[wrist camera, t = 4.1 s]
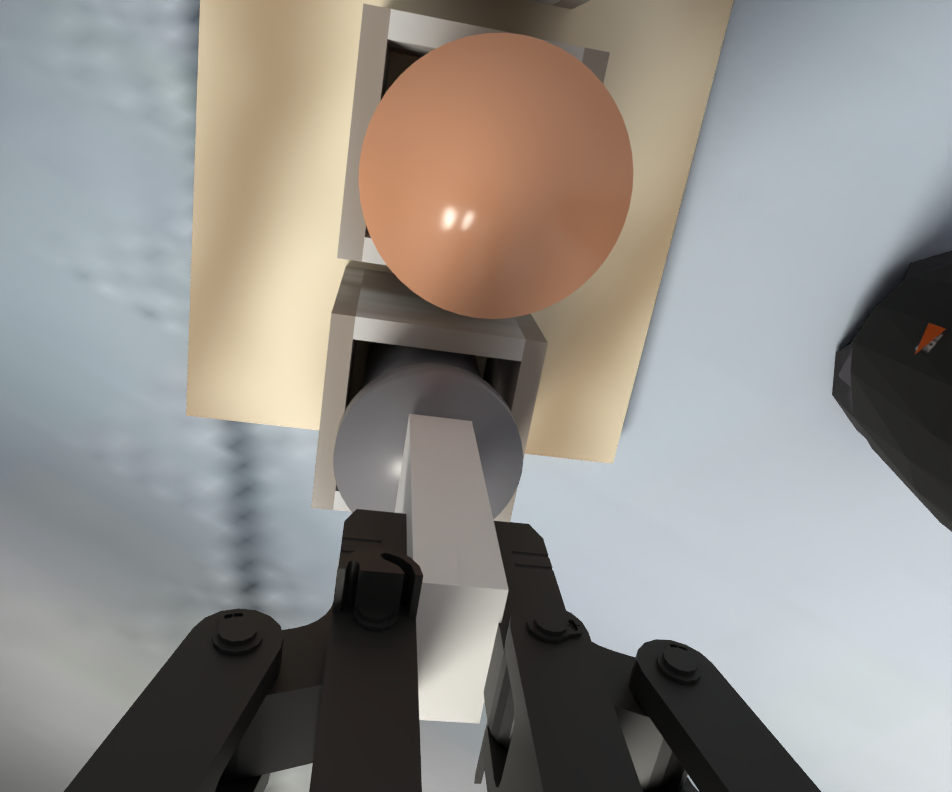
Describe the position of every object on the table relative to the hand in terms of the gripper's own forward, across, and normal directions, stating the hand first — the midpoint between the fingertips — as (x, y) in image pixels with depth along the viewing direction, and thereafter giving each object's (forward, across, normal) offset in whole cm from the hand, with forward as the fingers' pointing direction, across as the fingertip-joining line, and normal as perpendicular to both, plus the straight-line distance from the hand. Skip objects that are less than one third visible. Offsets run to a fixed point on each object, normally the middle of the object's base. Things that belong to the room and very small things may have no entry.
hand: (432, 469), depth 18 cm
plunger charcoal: (+7, 0, 0) cm, 7 cm away
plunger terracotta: (+4, 0, +7) cm, 8 cm away
